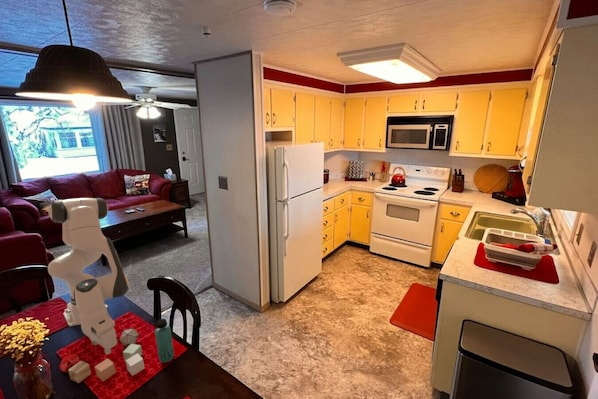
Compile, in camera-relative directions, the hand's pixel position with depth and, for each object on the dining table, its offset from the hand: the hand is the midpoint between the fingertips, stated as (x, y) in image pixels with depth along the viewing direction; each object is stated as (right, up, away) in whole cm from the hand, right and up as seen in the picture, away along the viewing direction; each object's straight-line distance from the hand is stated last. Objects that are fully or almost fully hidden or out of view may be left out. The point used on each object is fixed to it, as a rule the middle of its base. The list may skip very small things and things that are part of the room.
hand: (101, 348), depth 119 cm
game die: (0, -8, +20) cm, 22 cm away
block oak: (-10, -13, +3) cm, 17 cm away
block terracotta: (0, -13, +3) cm, 13 cm away
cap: (-18, -12, +7) cm, 23 cm away
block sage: (+6, -10, +12) cm, 17 cm away
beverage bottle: (+22, -11, +11) cm, 27 cm away
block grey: (+11, -12, +6) cm, 17 cm away
